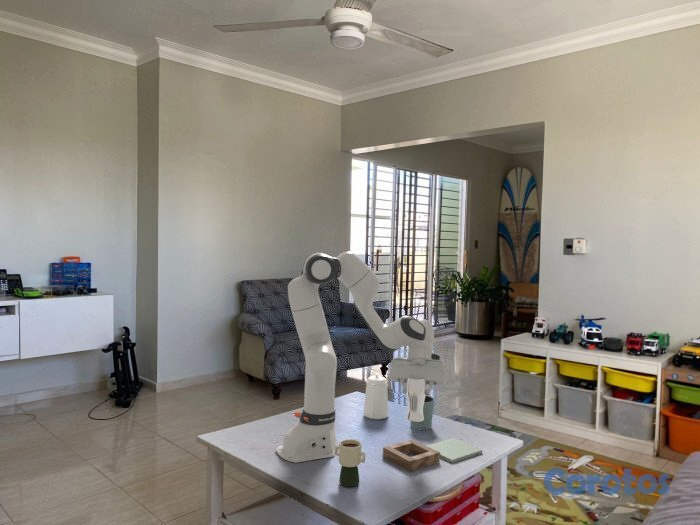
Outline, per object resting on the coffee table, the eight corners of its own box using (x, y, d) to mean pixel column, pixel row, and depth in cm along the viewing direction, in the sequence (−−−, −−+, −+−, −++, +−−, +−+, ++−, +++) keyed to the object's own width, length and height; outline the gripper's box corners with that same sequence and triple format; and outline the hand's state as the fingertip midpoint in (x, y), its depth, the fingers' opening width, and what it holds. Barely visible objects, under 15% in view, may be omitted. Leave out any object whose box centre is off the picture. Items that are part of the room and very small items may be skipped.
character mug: (369, 484, 165) (371, 443, 165) (358, 493, 159) (359, 450, 158) (340, 475, 171) (341, 436, 170) (328, 483, 165) (329, 443, 164)
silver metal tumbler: (411, 414, 189) (413, 373, 188) (428, 418, 185) (430, 376, 184) (401, 419, 184) (402, 376, 183) (418, 423, 179) (419, 380, 179)
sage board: (451, 463, 182) (451, 459, 182) (423, 449, 193) (423, 446, 193) (482, 453, 192) (482, 450, 192) (453, 440, 203) (453, 437, 203)
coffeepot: (358, 424, 218) (359, 380, 217) (368, 406, 242) (369, 366, 241) (384, 427, 215) (385, 382, 215) (391, 408, 240) (392, 367, 239)
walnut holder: (409, 471, 175) (410, 461, 174) (382, 457, 186) (383, 447, 186) (439, 462, 183) (439, 452, 183) (411, 448, 194) (412, 439, 194)
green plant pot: (432, 423, 222) (433, 395, 222) (434, 431, 212) (435, 402, 212) (408, 422, 223) (409, 394, 222) (409, 430, 213) (410, 401, 212)
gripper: (390, 352, 192) (385, 386, 183) (447, 356, 188) (444, 391, 179) (392, 362, 197) (387, 395, 188) (447, 366, 192) (445, 400, 183)
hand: (415, 393), depth 183 cm, fingers closed on silver metal tumbler, 7 cm apart
